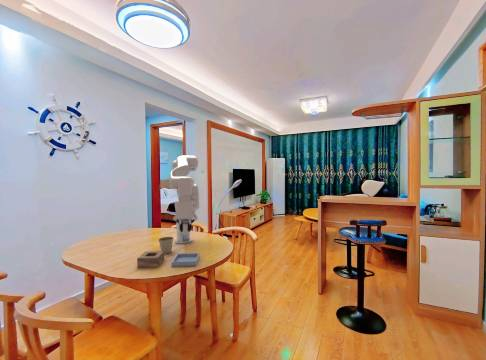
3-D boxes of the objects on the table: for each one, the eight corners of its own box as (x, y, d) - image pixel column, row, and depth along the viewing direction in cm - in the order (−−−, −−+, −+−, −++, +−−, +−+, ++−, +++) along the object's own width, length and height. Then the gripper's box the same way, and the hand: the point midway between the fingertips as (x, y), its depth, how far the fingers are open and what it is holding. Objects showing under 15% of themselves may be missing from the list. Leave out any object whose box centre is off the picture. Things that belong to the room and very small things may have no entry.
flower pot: (157, 255, 139) (157, 241, 139) (159, 250, 149) (158, 237, 148) (173, 253, 142) (173, 240, 142) (174, 249, 151) (173, 236, 151)
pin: (182, 239, 131) (182, 219, 131) (191, 239, 131) (190, 218, 131) (180, 242, 126) (180, 220, 126) (189, 242, 126) (189, 220, 126)
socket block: (145, 259, 132) (145, 251, 132) (164, 259, 133) (164, 250, 133) (137, 267, 121) (137, 258, 121) (158, 267, 122) (158, 257, 122)
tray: (177, 257, 135) (177, 253, 135) (199, 257, 136) (199, 253, 136) (171, 266, 122) (171, 262, 122) (196, 265, 123) (195, 261, 123)
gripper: (200, 197, 132) (201, 229, 133) (171, 198, 131) (172, 230, 132) (199, 199, 125) (199, 232, 125) (168, 199, 124) (168, 233, 124)
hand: (185, 230), depth 128 cm, fingers closed on pin, 3 cm apart
